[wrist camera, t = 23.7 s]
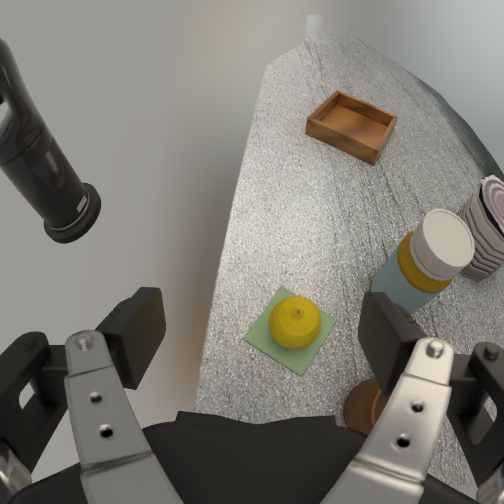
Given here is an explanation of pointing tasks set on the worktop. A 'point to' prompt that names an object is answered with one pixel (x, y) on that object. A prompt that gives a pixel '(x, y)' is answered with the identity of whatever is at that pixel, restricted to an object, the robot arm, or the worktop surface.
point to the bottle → (426, 260)
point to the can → (485, 228)
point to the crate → (352, 126)
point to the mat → (287, 357)
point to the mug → (364, 406)
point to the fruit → (295, 322)
